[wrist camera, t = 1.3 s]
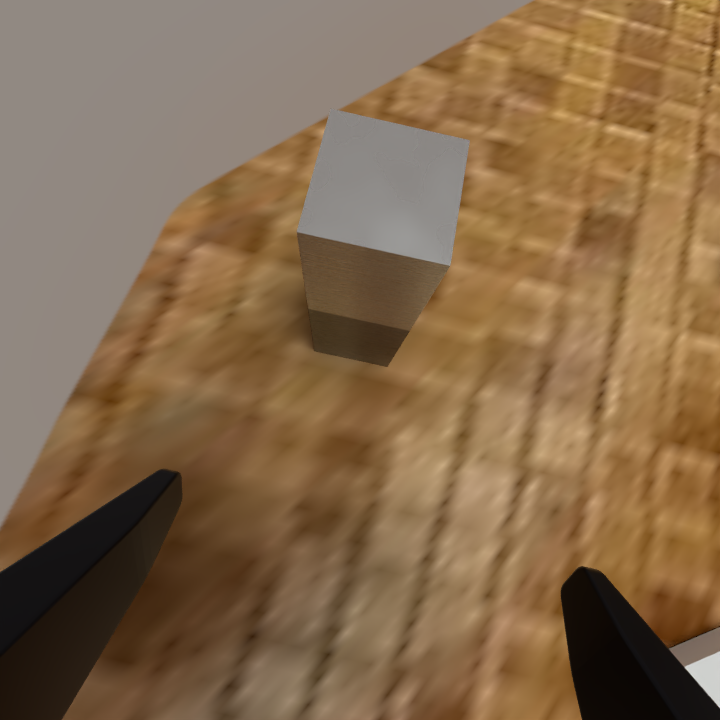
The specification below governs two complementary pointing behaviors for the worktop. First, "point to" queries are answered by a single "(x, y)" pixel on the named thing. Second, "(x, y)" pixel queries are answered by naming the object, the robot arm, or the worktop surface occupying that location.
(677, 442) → the worktop surface
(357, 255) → the silver metal block
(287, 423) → the worktop surface
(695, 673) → the plate
